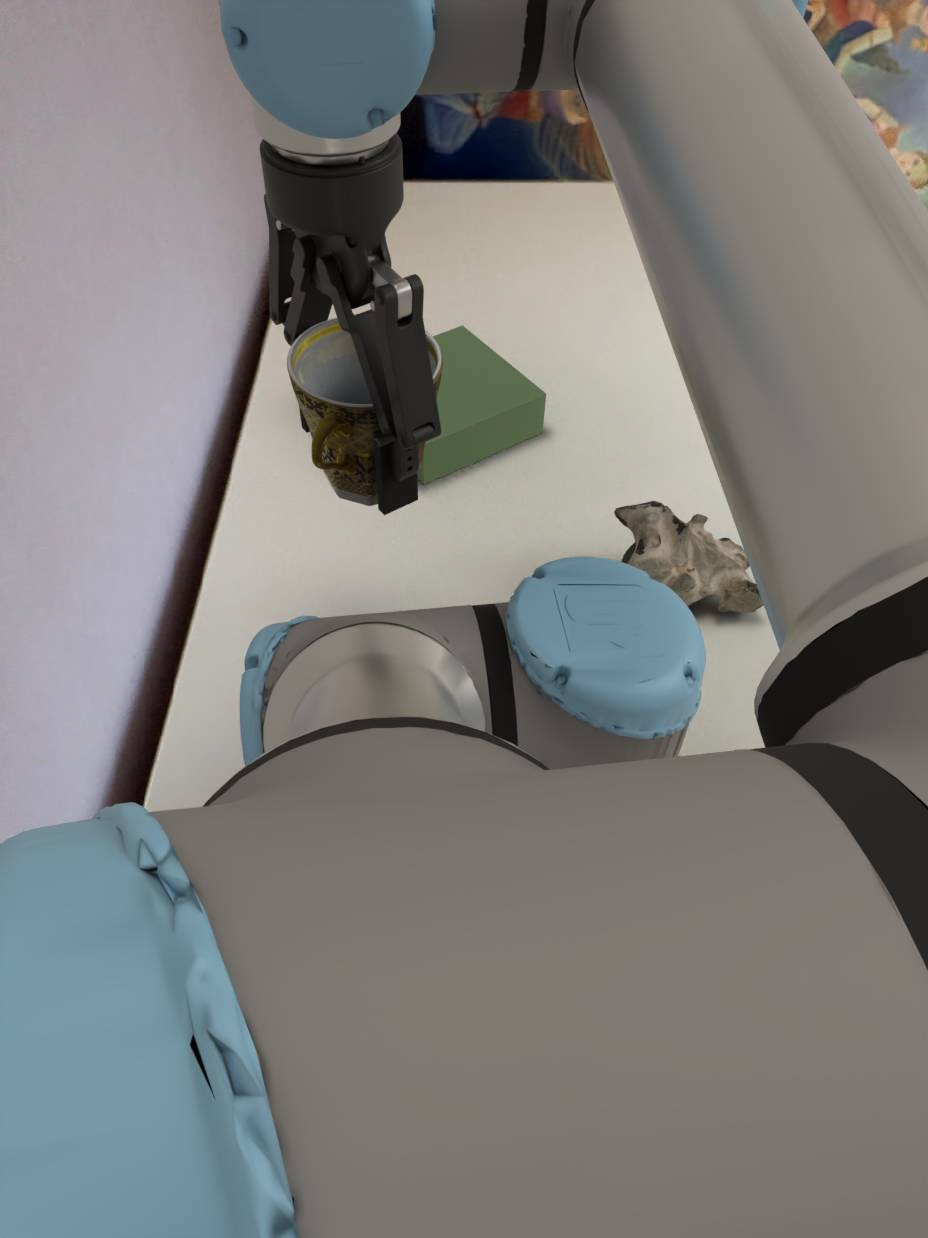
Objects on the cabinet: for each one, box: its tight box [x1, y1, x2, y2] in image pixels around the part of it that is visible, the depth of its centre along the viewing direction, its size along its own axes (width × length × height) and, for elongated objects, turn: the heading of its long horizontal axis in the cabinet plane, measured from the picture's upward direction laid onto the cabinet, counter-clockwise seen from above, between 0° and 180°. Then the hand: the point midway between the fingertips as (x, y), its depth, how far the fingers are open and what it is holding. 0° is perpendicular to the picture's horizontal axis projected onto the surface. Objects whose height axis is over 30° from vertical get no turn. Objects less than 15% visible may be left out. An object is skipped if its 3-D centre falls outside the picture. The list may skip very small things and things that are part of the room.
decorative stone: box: [613, 500, 764, 614], centre depth 84 cm, size 16×9×10 cm
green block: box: [418, 325, 547, 485], centre depth 101 cm, size 15×15×5 cm
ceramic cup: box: [286, 313, 443, 507], centre depth 64 cm, size 13×10×10 cm
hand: (357, 462), depth 67 cm, fingers closed on ceramic cup, 10 cm apart
